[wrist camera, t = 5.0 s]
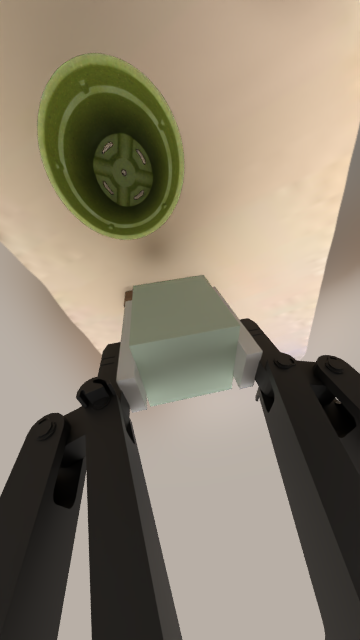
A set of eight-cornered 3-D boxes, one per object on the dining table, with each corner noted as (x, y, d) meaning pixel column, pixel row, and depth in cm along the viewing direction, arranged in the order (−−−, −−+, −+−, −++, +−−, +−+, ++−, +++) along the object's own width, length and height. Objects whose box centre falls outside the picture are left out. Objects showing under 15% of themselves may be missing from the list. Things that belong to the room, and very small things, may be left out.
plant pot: (185, 186, 21) (207, 186, 14) (125, 240, 23) (119, 262, 16) (124, 77, 16) (113, -9, 9) (54, 159, 18) (1, 142, 11)
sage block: (133, 286, 13) (128, 346, 8) (203, 275, 13) (240, 325, 8) (147, 339, 16) (150, 406, 11) (204, 328, 16) (231, 388, 11)
